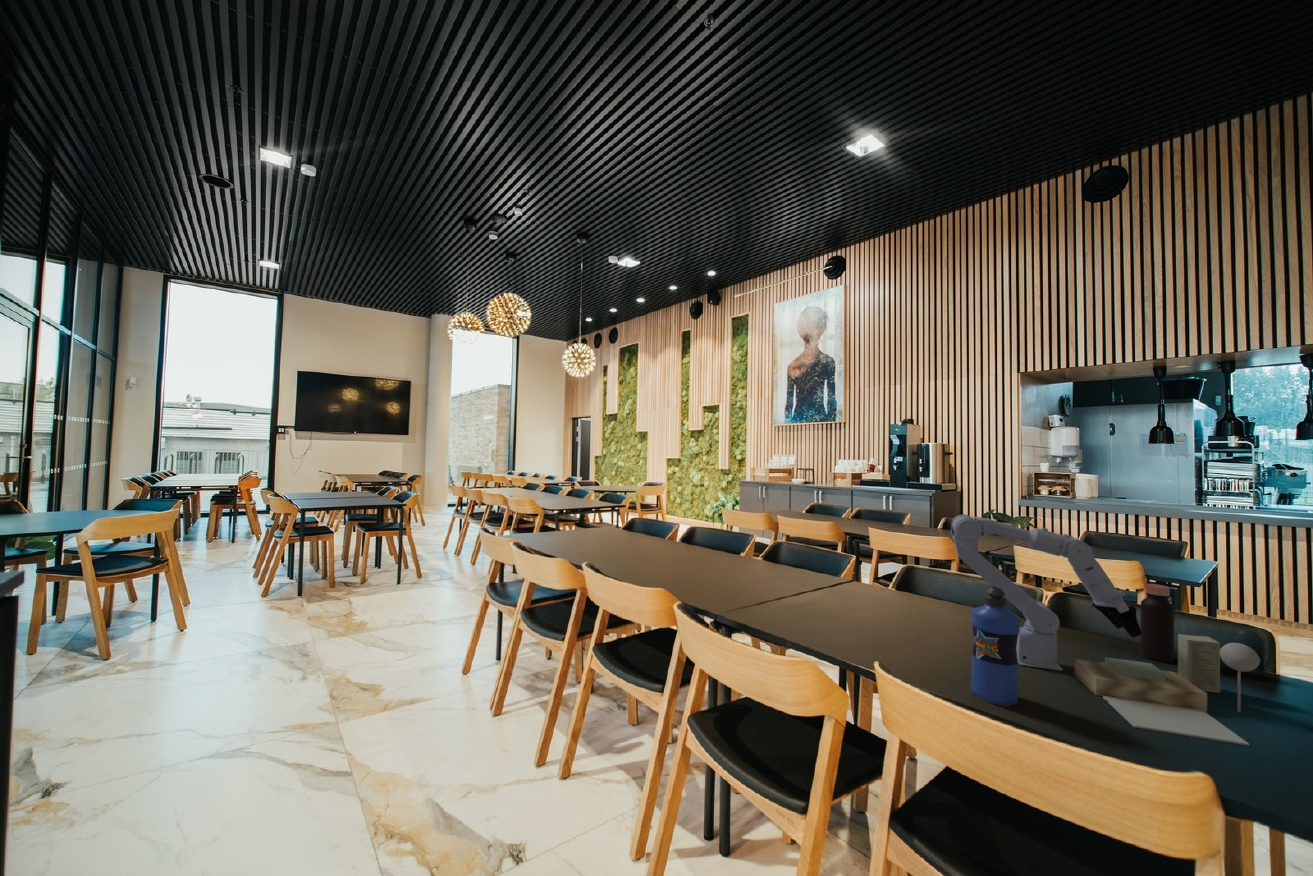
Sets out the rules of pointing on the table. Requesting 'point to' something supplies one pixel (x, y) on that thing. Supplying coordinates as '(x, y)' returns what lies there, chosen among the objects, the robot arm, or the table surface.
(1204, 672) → the skincare box
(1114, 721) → the table surface
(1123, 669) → the tile
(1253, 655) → the lollipop
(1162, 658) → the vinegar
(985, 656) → the water bottle
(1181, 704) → the riser
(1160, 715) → the mat
